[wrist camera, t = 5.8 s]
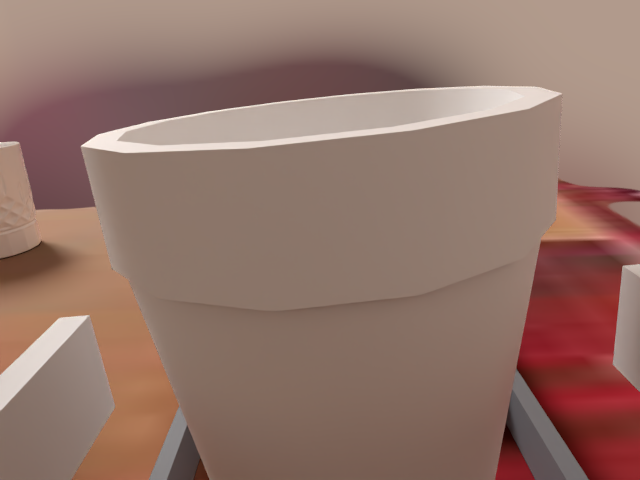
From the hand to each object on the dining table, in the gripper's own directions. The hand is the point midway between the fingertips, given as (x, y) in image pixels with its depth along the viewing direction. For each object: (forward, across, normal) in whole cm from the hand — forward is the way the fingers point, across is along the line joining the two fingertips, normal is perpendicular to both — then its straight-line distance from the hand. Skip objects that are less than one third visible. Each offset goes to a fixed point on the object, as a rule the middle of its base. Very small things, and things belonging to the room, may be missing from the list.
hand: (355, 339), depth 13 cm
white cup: (+36, -33, -8) cm, 49 cm away
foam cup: (0, 0, -8) cm, 8 cm away
